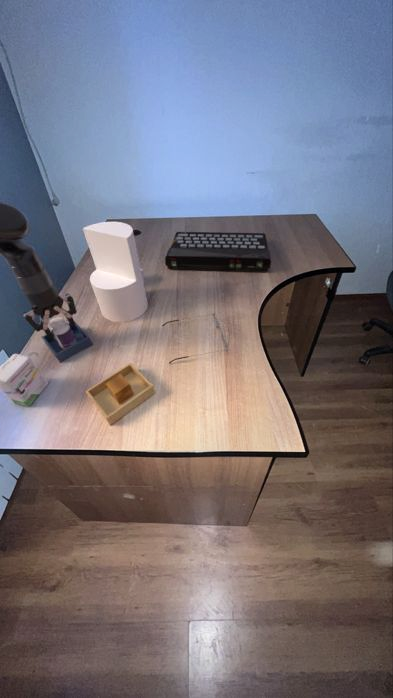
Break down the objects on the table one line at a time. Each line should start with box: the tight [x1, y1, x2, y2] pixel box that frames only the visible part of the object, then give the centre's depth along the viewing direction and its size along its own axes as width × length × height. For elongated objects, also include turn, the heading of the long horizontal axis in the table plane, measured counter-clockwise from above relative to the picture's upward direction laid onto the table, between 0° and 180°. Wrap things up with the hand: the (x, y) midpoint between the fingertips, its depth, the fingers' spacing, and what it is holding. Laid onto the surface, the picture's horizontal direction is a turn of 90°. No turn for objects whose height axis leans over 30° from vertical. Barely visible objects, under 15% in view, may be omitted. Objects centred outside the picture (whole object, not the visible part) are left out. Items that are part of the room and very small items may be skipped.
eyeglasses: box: [161, 312, 229, 364], centre depth 86 cm, size 18×19×4 cm
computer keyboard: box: [164, 231, 272, 273], centre depth 123 cm, size 45×28×7 cm, turn 84°
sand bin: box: [85, 362, 156, 426], centre depth 72 cm, size 14×11×4 cm
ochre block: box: [106, 374, 134, 404], centre depth 71 cm, size 5×5×5 cm
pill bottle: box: [49, 316, 77, 349], centre depth 83 cm, size 5×5×10 cm
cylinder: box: [82, 221, 149, 323], centre depth 90 cm, size 17×17×28 cm
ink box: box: [0, 353, 49, 408], centre depth 70 cm, size 8×5×12 cm, turn 164°
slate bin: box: [41, 320, 94, 363], centre depth 86 cm, size 11×11×4 cm
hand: (62, 331), depth 83 cm, fingers open, 6 cm apart
